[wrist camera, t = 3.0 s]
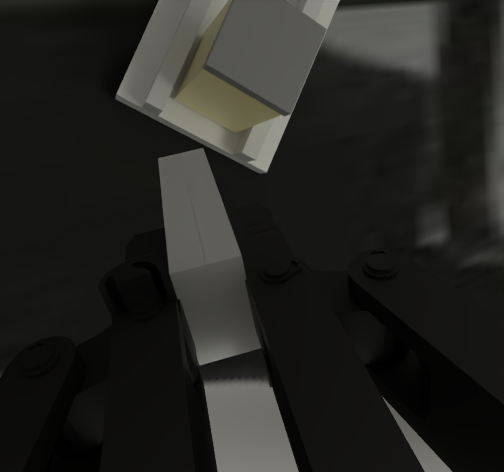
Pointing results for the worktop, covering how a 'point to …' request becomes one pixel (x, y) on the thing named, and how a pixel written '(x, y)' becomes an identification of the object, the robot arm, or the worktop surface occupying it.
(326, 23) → the grey channel fixture
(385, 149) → the worktop surface
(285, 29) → the grey-capped yellow block
